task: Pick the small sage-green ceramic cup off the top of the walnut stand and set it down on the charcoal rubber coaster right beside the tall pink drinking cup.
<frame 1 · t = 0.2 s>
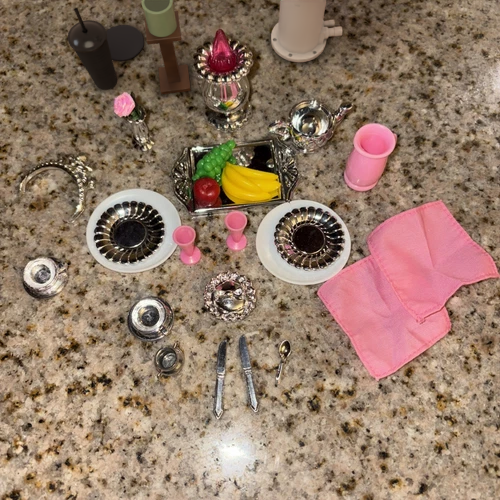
drinking cup: (106, 81, 109), on the granite countertop
stand: (174, 80, 109), on the granite countertop
sage cup: (162, 25, 94), point 16 cm above the granite countertop, touching stand
coaster: (122, 43, 112), on the granite countertop
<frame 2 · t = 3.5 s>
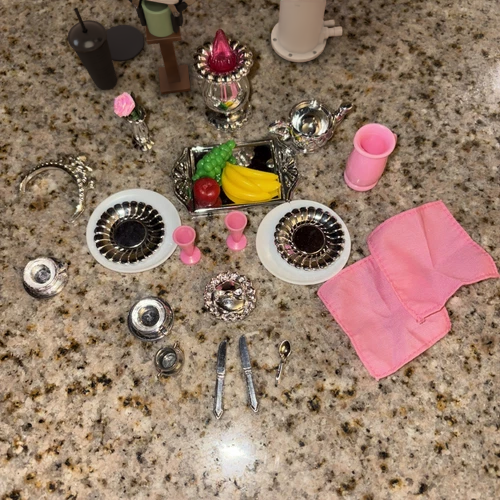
hand: (161, 23, 93), 17 cm above the granite countertop, tool pointing down, fingers closed on sage cup, 5 cm apart
sage cup: (162, 25, 94), point 16 cm above the granite countertop, touching gripper, stand
everything else where it was.
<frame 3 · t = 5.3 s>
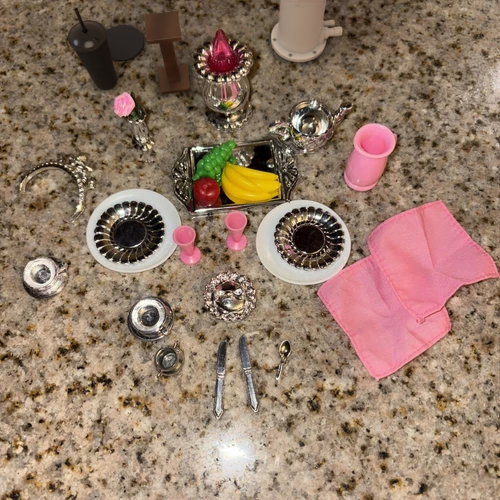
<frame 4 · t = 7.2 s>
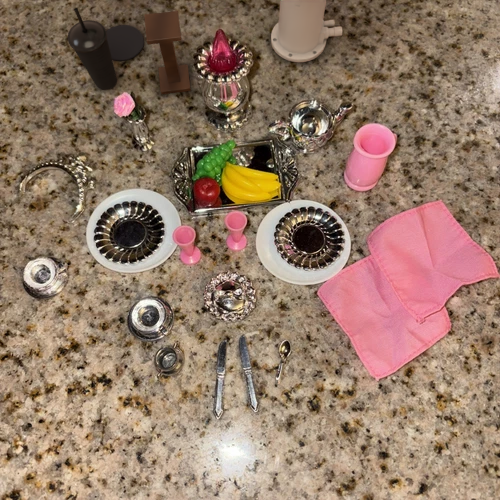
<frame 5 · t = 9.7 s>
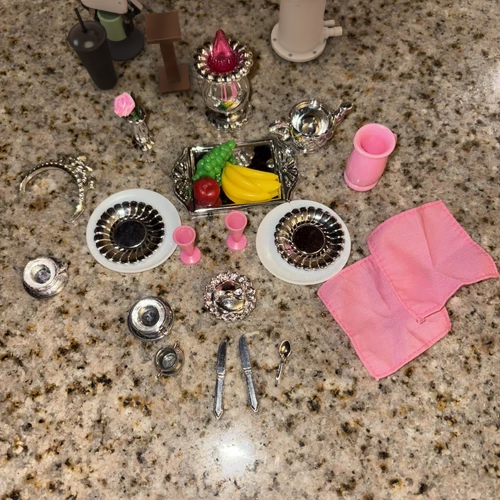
hand: (116, 28, 108), 4 cm above the granite countertop, tool pointing down, fingers closed on sage cup, 5 cm apart
sage cup: (117, 31, 109), point 4 cm above the granite countertop, touching gripper
everything else where it was.
when the fingers open (1 cm above the granite countertop, at t = 11.1 s): sage cup stays where it is, resting on coaster.
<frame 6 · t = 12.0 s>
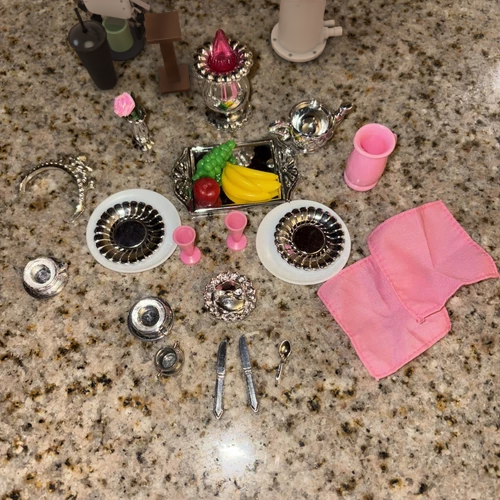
hand: (120, 31, 109), 4 cm above the granite countertop, tool pointing down, fingers open, 9 cm apart
sage cup: (121, 42, 112), resting on coaster
everything else where it was.
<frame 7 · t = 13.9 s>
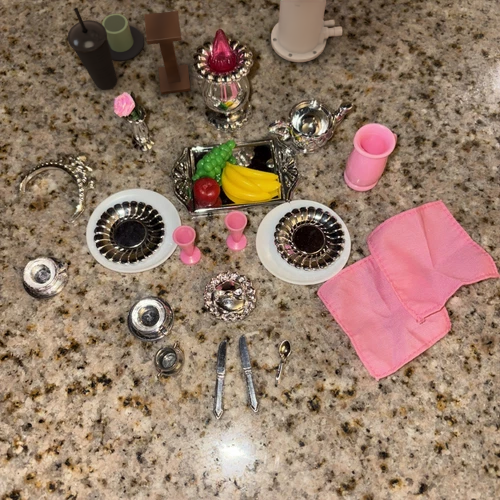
nothing on the granite countertop moved.
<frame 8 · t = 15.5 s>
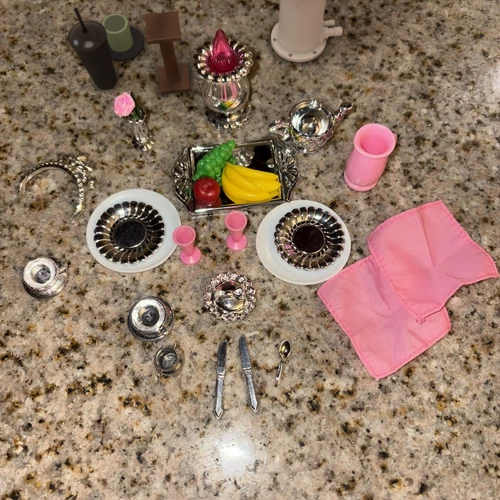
nothing on the granite countertop moved.
at the end: sage cup inside the target area on the coaster (0.1 cm from its centre), point 0.4 cm above the coaster's base; sage cup 10.7 cm from the drinking cup (horizontally); sage cup tilted 0° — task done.
